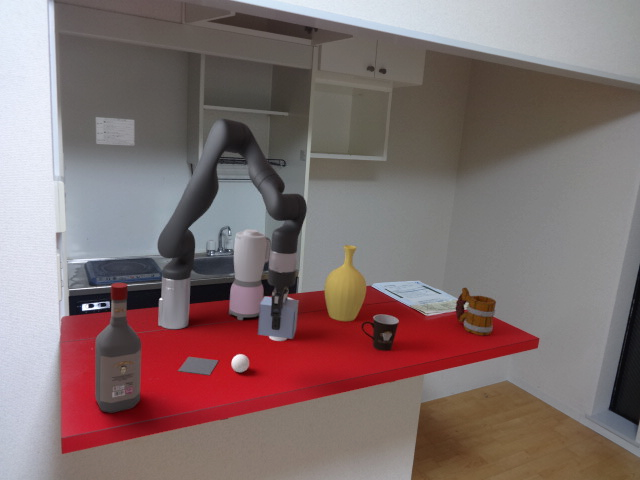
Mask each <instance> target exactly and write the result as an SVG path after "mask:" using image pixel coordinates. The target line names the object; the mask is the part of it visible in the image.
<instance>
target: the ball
mask: <svg viewBox="0 0 640 480" xmlns="http://www.w3.org/2000/svg"><path fill="white" fill-rule="evenodd" d="M249 367H250V360H249V358H248V356H246V355H245V354H243V353H238V354H236V355H234V356H233V358H232V360H231V368H232V369H233V371H234V372H236V373H243V372H245V371H247V370H248V369H249Z"/></svg>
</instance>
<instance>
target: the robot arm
mask: <svg viewBox="0 0 640 480" xmlns="http://www.w3.org/2000/svg"><path fill="white" fill-rule="evenodd" d="M225 152H227V153H232V154H233V153H234V154H238V155H240V156H241V157H242V158H243V159H244V160H245V161H246V162H247V166H248V167H247V171H248V177H249V179H250V181H251V183H252V185H254V187H255V188H256V189H257V191H258V192H259V193H260V194H261V197H262V200H263V203H264V206H265V208H266V212H267V214H268V215H269V217H270V218H272V219H273V220H275V221H279V222H282V221H284V222H283V224H282V226H280V227H278V228H276V229H274V230H273V231H272V234H271V235H272V236H271V249H270V257H269V261H268V270H267V271H268V272H267V283H268V284H269V285H270V286H274V288H273V290H272V293H271V297H272V304H271V314H270V315H271V317H272V329H273V330H279V329H280V322H281V316H282V309H283V308H284V306H285V300H287V299H288V297H289V292H290V291H289V288H290V287H293V286H295V285H296V277H297V265H298V245H299V244H298V243H299V235H300V233H301V230H302V227H303V225H304V223H305V220H306V216H307V212H308V207H307V205H308V204H307V201H306V199H305V197H304V196H303V195H301V194H300V193H283V192H285V189H286V185H285V182H284V180H283V179H282V177H281V176H280V175H279V174H278V172H277V171H276V170H275V169H274V167H273V166H272V165H271V163H270V162H269V161H268V160H267V158H266V156H265V154H264V152H263V151H262V149H261V147H260V145H259V144H258V142H257V139H256V137H255V135H254V133H253V132H252V130H251V129H250V127H249V126H248V125H247V124H245V123H243V122H242V121H235V120H233V119H228V118H218V119H217V120H216V121H215V122H214V123H213V125H212V126H211V128H210V131H209V133H208V136H207V138H206V141H205V144H204V147H203V149H202V153H201V155H200V158H199V160H198V162H197V164H196V167H195V168H194V171H193V173H192V175H191V177H190V179H189V180H188V182H187V184H186V187H185V189H184V190H183V193H182V196H181V197H180V199H179V201H178V203H177V205H176V207H175V209H174V210H173V211H174V212H173V214H172V215H171V217H170V218H169V220H168V221H167V224H165V226H164V228H163V229H162V231H161V232H160V233H159V236H158V240H157V243H156V244H157V245H156V246H157V251H158V254H159V255H160V257H162V258H164V259H171V260H170V261H169V262H168V263H167V264H166V265H165V266H163V267H162V269H161V273H162V274H161V293H160V294H161V297H160V298H159V299H158V321H157V322H158V323H157V324H158V326H159V327H162V328H163V329H164V328H165V329H168V330H178V329H179V330H180V329H183V328H186V327H188V326H189V320H190V317H189V316H190V296H191V277H192V275H191V274H192V272H193V269H194V264H195V254H196V238H195V236H194V234H193V232H192V231H191V229H189V228H190V227H191V226H192V225H193V224H195V222H197V221H198V220H199V219H201V217H202V216H204V214H205V213H207V212H208V210H210V208H211V206H212V205H213V203H214V201H215V198H216V197H217V194H218V192H219V189H220V185H219V176H218V170H217V169H218V164H219V162H220V161H221V160H220V159H221V157H222V156H223V153H225ZM281 304H282V305H281ZM275 309H278V312H274V311H275Z"/></svg>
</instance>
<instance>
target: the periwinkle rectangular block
mask: <svg viewBox="0 0 640 480" xmlns="http://www.w3.org/2000/svg"><path fill="white" fill-rule="evenodd" d="M299 302H300V300H298V299H297V300H296V299H294V300H291V299H287V300H285V306H284V308H283V309H282V316H281V322H280V329H279V330H273V329H272V317H271V315H270V314H271V304H272V296H265V295H264V296H263V300H262V302H261V303H260V310H259V316H258V325H257V327H258V328H257V335H259V336H267V337H269V336H273V337H281V338H287V339H291V340H293V339H294V337H295V334H296V331H297V322H298V314H299V313H298V311H299ZM281 305H282V304H281ZM274 312H278V309H275V311H274Z"/></svg>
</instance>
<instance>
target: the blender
mask: <svg viewBox="0 0 640 480" xmlns="http://www.w3.org/2000/svg"><path fill="white" fill-rule="evenodd" d="M271 242H272V240H271V239H270V238H269V237H267V236H266V234H265V233H262V232H260V231H259V230H257V229H253V228H252V229H250V228H248V229H247V228H245V229H244V231H243V230H242V231H238V232H236V234H235V240H234V249H233V250H234V251H233V266H234V267H233V268H234V280H233V282H232V284H231V287H230V294H229V307H228V315H229V316H235V317H236V319H237V320H239V321H243V320H244V318H256V317H259V310H260V303H261V302H262V300H263V298H264V297H265V295H264V285H263V284H262V275H263V272H264V267H265V264H267V263H269V257H270V253H271Z"/></svg>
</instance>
